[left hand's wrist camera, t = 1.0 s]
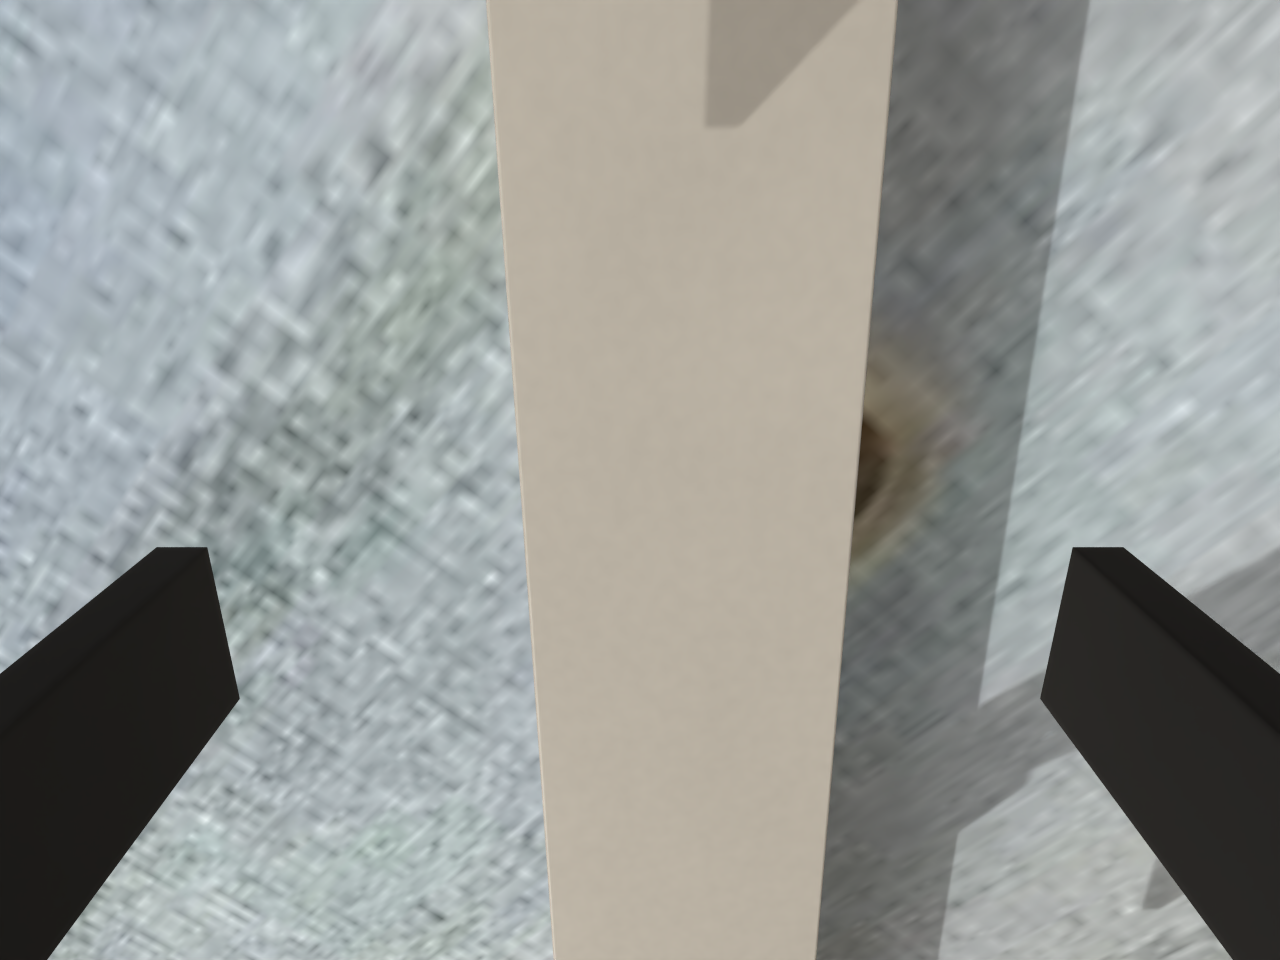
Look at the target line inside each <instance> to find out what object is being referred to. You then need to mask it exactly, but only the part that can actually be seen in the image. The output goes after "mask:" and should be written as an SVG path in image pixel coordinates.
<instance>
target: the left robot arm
mask: <svg viewBox="0 0 1280 960" xmlns="http://www.w3.org/2000/svg"><path fill="white" fill-rule="evenodd" d="M239 699H240V698H239V693H238V688H237V684H236V679H235V675H234V670H233V665H232V661H231V656H230V651H229V647H228V642H227V637H226V633H225V628H224V623H223V619H222V614H221V609H220V605H219V600H218V595H217V591H216V586H215V581H214V577H213V572H212V567H211V563H210V558H209V553H208V549H207V547H156V548H155V549H154V550H153V551H152V552H150V553H149V554H148V555H147V556H145V557H144V558H143V559H142V560H140V561H139V562H138V563H137V564H135V565H134V566H133V567H132V568H131V569H129V570H128V571H127V572H126V573H124V574H123V575H122V576H121V577H119V578H118V579H117V580H116V581H114V582H113V583H112V584H111V585H110V586H108V587H107V588H106V589H105V590H103V591H102V592H101V593H100V594H98V595H97V596H96V597H95V598H93V599H92V600H91V601H90V602H88V603H87V604H86V605H85V606H84V607H82V608H81V609H80V610H79V611H77V612H76V613H75V614H74V615H72V616H71V617H70V618H69V619H67V620H66V621H65V622H64V623H63V624H61V625H60V626H59V627H58V628H56V629H55V630H54V631H53V632H51V633H50V634H49V635H48V636H46V637H45V638H44V639H43V640H42V641H40V642H39V643H38V644H37V645H35V646H34V647H33V648H32V649H30V650H29V651H28V652H27V653H25V654H24V655H23V656H22V657H20V658H19V659H18V660H17V661H16V662H14V663H13V664H12V665H11V666H9V667H8V668H7V669H6V670H4V671H3V672H2V673H1V674H0V960H47V959H48V958H49V956H50V955H51V954H52V952H53V951H54V950H55V948H56V947H57V946H58V944H59V943H60V942H61V940H62V939H63V937H64V936H65V935H66V933H67V932H68V931H69V929H70V928H71V927H72V925H73V924H74V923H75V921H76V920H77V918H78V917H79V916H80V914H81V913H82V912H83V910H84V909H85V908H86V906H87V905H88V904H89V902H90V901H91V900H92V898H93V897H94V895H95V894H96V893H97V891H98V890H99V889H100V887H101V886H102V885H103V883H104V882H105V881H106V879H107V878H108V877H109V875H110V874H111V872H112V871H113V870H114V868H115V867H116V866H117V864H118V863H119V862H120V860H121V859H122V858H123V856H124V855H125V853H126V852H127V851H128V849H129V848H130V847H131V845H132V844H133V843H134V841H135V840H136V839H137V837H138V836H139V835H140V833H141V832H142V830H143V829H144V828H145V826H146V825H147V824H148V822H149V821H150V820H151V818H152V817H153V816H154V814H155V813H156V811H157V810H158V809H159V807H160V806H161V805H162V803H163V802H164V801H165V799H166V798H167V797H168V795H169V794H170V793H171V791H172V790H173V788H174V787H175V786H176V784H177V783H178V782H179V780H180V779H181V778H182V776H183V775H184V774H185V772H186V771H187V769H188V768H189V767H190V765H191V764H192V763H193V761H194V760H195V759H196V757H197V756H198V755H199V753H200V752H201V751H202V749H203V748H204V746H205V745H206V744H207V742H208V741H209V740H210V738H211V737H212V736H213V734H214V733H215V732H216V730H217V729H218V727H219V726H220V725H221V723H222V722H223V721H224V719H225V718H226V717H227V715H228V714H229V713H230V711H231V710H232V709H233V707H234V706H235V704H236V703H237V702H238V700H239ZM1040 699H1041V700H1042V702H1043V703H1044V704H1045V706H1046V707H1047V709H1048V710H1049V711H1050V713H1051V714H1052V715H1053V717H1054V718H1055V719H1056V721H1057V722H1058V723H1059V725H1060V726H1061V727H1062V729H1063V730H1064V732H1065V733H1066V734H1067V736H1068V737H1069V738H1070V740H1071V741H1072V742H1073V744H1074V745H1075V746H1076V748H1077V749H1078V751H1079V752H1080V753H1081V755H1082V756H1083V757H1084V759H1085V760H1086V761H1087V763H1088V764H1089V765H1090V767H1091V768H1092V769H1093V771H1094V772H1095V774H1096V775H1097V776H1098V778H1099V779H1100V780H1101V782H1102V783H1103V784H1104V786H1105V787H1106V788H1107V790H1108V791H1109V793H1110V794H1111V795H1112V797H1113V798H1114V799H1115V801H1116V802H1117V803H1118V805H1119V806H1120V807H1121V809H1122V810H1123V811H1124V813H1125V814H1126V816H1127V817H1128V818H1129V820H1130V821H1131V822H1132V824H1133V825H1134V826H1135V828H1136V829H1137V830H1138V832H1139V833H1140V835H1141V836H1142V837H1143V839H1144V840H1145V841H1146V843H1147V844H1148V845H1149V847H1150V848H1151V849H1152V851H1153V852H1154V853H1155V855H1156V856H1157V858H1158V859H1159V860H1160V862H1161V863H1162V864H1163V866H1164V867H1165V868H1166V870H1167V871H1168V872H1169V874H1170V875H1171V877H1172V878H1173V879H1174V881H1175V882H1176V883H1177V885H1178V886H1179V887H1180V889H1181V890H1182V891H1183V893H1184V894H1185V895H1186V897H1187V898H1188V900H1189V901H1190V902H1191V904H1192V905H1193V906H1194V908H1195V909H1196V910H1197V912H1198V913H1199V914H1200V916H1201V917H1202V919H1203V920H1204V921H1205V923H1206V924H1207V925H1208V927H1209V928H1210V929H1211V931H1212V932H1213V933H1214V935H1215V936H1216V937H1217V939H1218V940H1219V942H1220V943H1221V944H1222V946H1223V947H1224V948H1225V950H1226V951H1227V952H1228V954H1229V955H1230V956H1231V958H1232V959H1233V960H1280V674H1279V673H1278V672H1277V671H1276V670H1274V669H1273V668H1272V667H1271V666H1269V665H1268V664H1267V663H1266V662H1264V661H1263V660H1262V659H1261V658H1260V657H1258V656H1257V655H1256V654H1255V653H1253V652H1252V651H1251V650H1250V649H1248V648H1247V647H1246V646H1245V645H1243V644H1242V643H1241V642H1240V641H1238V640H1237V639H1236V638H1235V637H1234V636H1232V635H1231V634H1230V633H1229V632H1227V631H1226V630H1225V629H1224V628H1222V627H1221V626H1220V625H1219V624H1217V623H1216V622H1215V621H1214V620H1213V619H1211V618H1210V617H1209V616H1208V615H1206V614H1205V613H1204V612H1203V611H1201V610H1200V609H1199V608H1198V607H1196V606H1195V605H1194V604H1193V603H1192V602H1190V601H1189V600H1188V599H1187V598H1185V597H1184V596H1183V595H1182V594H1180V593H1179V592H1178V591H1177V590H1175V589H1174V588H1173V587H1172V586H1170V585H1169V584H1168V583H1167V582H1166V581H1164V580H1163V579H1162V578H1161V577H1159V576H1158V575H1157V574H1156V573H1154V572H1153V571H1152V570H1151V569H1149V568H1148V567H1147V566H1146V565H1145V564H1143V563H1142V562H1141V561H1140V560H1138V559H1137V558H1136V557H1135V556H1133V555H1132V554H1131V553H1130V552H1128V551H1127V550H1126V549H1125V548H1123V547H1073V549H1072V553H1071V558H1070V563H1069V567H1068V572H1067V577H1066V581H1065V586H1064V591H1063V595H1062V600H1061V605H1060V609H1059V614H1058V619H1057V623H1056V628H1055V633H1054V637H1053V642H1052V647H1051V651H1050V656H1049V661H1048V665H1047V670H1046V674H1045V679H1044V684H1043V688H1042V693H1041V698H1040Z"/></svg>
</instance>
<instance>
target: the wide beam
mask: <svg viewBox="0 0 1280 960" xmlns="http://www.w3.org/2000/svg"><path fill="white" fill-rule="evenodd" d="M486 6H487V21H488V35H489V49H490V63H491V77H492V91H493V106H494V120H495V134H496V148H497V162H498V176H499V191H500V205H501V219H502V233H503V247H504V261H505V276H506V290H507V304H508V318H509V332H510V346H511V361H512V375H513V389H514V403H515V417H516V431H517V446H518V460H519V474H520V488H521V502H522V516H523V531H524V545H525V559H526V573H527V587H528V601H529V616H530V630H531V644H532V658H533V672H534V686H535V701H536V715H537V729H538V743H539V757H540V771H541V786H542V800H543V814H544V828H545V842H546V856H547V871H548V885H549V899H550V913H551V927H552V942H553V956H554V960H816V954H817V943H818V931H819V919H820V908H821V896H822V884H823V873H824V861H825V849H826V838H827V826H828V814H829V803H830V791H831V779H832V768H833V756H834V744H835V733H836V721H837V709H838V698H839V686H840V674H841V663H842V651H843V640H844V628H845V616H846V605H847V593H848V581H849V570H850V558H851V546H852V535H853V523H854V511H855V500H856V488H857V476H858V465H859V453H860V441H861V430H862V418H863V406H864V395H865V383H866V371H867V360H868V348H869V336H870V325H871V313H872V301H873V290H874V278H875V266H876V255H877V243H878V231H879V220H880V208H881V196H882V185H883V173H884V161H885V150H886V138H887V126H888V115H889V103H890V91H891V80H892V68H893V56H894V45H895V33H896V21H897V10H898V0H486Z"/></svg>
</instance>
